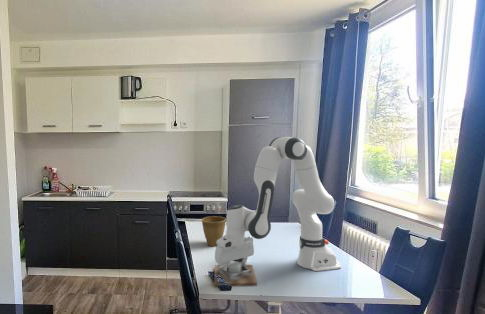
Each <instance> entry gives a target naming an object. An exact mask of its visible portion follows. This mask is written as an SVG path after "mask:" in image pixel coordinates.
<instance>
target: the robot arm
mask: <svg viewBox="0 0 485 314" xmlns="http://www.w3.org/2000/svg"><path fill="white" fill-rule="evenodd" d="M283 160H291V161H292V162H293V168H294V172H295V177H296V182H297V184H298V185H299V186H300V187H301V189H300V188H298V189H296V190H295V191H294V192H293V193H292V196H291V201H292V204H293V205H294V206H295V208H296V210H297V212H298V213H297V214H298V216H299V221H300V236H299V241H298V243H299V253H298V257H297V259H296V263H297V265H298V266H300V267H302V268H305V269H309V270H312V271H314V272H320V271H329V270H337V269H338V270H339V269H341V268H342V264H341V262H340V261H339V260H337V255H336V253H335V252H334V251H333V250H332V249H331V248H330V247H329V246H327V245H329V243H330V242H329V240H328V239H326V238H324V237H323V223H322V221H321V220H320V218H319V216H318V215H329V214H332V212H333V210H334V209H335V203H336V202H335V200H334V197H333V196H332V195H331V194H329V193H328V191H327V190H326V189H325V187H324V185H323V184H322V182H321V179H320V176H319V171H318V167H317V163H316V159H315V156H314V153H313V151H312V148H311V147H310V146H308V145H306V144H305V141H303V140H302V139H301V138H298V137H295V136H294V137H292V136H283V137H282V136H278V137H275V138H273V139H272V140H271V141H270V142H269V145H267V146H264V147H263V148H262V149H261V151H260V152H259V154H258V157H257V160H256V163H255V165H254V167H255V168H254V172H253V181H254V184H255V185H256V186H255V187H257V190H258V201H257V207H256V210H252V209H249V208H247V207H245V206H244V205H243V204H233V205H231V206H229V207H228V208H227V212H226V217H225V218H226V222H225V226H226V231H225V232H226V233H225V235H223V236H222V238H220V239H218V240H217V241H216V243H217V245H218V246H215V251H214V260H215V262H216V263H217V264H219V265H220V264H221V265H223V266H224V270H225V271H228V270H229V267H228V266H226V265H227V264H228V263H230V261H233V260H237V259H241V258H243V261H242V267H243V266H245V265H246V263H247V262H248V261H247V260H248V257H251V256H254V254H255V248H254V239H255V240H256V239H257V240H261V239H262V240H263V239H265V238H266V237H267V236H268V235H269V234H270V232H271V231H272V228H271V227H272V224H271V212H272V206H273V200H274V194H275V186H276V180H277V177H278V172H279V169H280V164H281V162H282V161H283ZM317 214H318V215H317ZM246 232H249V234H250V235H249V236H246V235H245V234H246ZM246 261H247V262H246Z"/></svg>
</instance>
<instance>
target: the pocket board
mask: <svg viewBox="0 0 485 314" xmlns="http://www.w3.org/2000/svg"><path fill="white" fill-rule="evenodd" d="M228 264H229V263H227V264H226V266H228ZM215 274H216V275H220V276H221V278H223V279H225V281H226V282H227V283H228V284H230V285H231V286H230V287H245V286H247V287H248V286H252V287H253V286H257V285H258V281H257V278H256V274H255V271H254V266H253V264H248V265H247V264H245V266H243V267H242V272H238V273H235V274H231V273H229V272H228V271H225V270H224V266H223V264H221V265H220V264H219V265H214V279H213V281H214V283H213V286H214V287H218V286H217V285H218V284H222V283H220V282H218V281H217V277H216V276H215Z"/></svg>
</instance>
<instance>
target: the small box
mask: <svg viewBox="0 0 485 314" xmlns="http://www.w3.org/2000/svg"><path fill="white" fill-rule="evenodd" d="M227 264H228V267H229V270H228V272H229V273H231V274H235V273H238V272H242V262H236V261H229V262H228V263H227Z"/></svg>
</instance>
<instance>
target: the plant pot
mask: <svg viewBox="0 0 485 314" xmlns="http://www.w3.org/2000/svg"><path fill="white" fill-rule="evenodd" d="M201 224H202V230H203V233H204V238H205V240H206V243H207V245H208V246H210V247H217V246H218V245H217V243H216V241H217V240H218V239H220V238H222V237H223V236H224V232H225V228H226V217H223V216H215V215H214V216H205V217H203V218H202V219H201Z"/></svg>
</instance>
